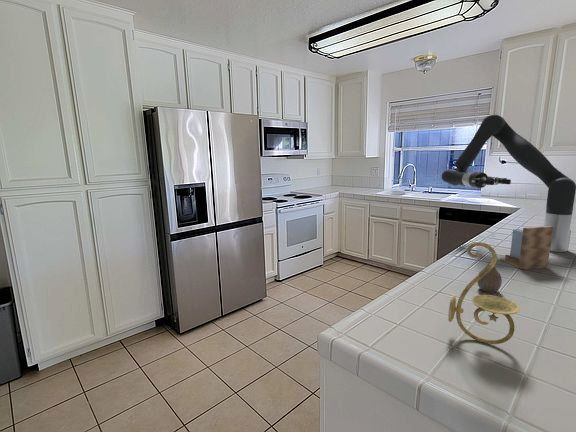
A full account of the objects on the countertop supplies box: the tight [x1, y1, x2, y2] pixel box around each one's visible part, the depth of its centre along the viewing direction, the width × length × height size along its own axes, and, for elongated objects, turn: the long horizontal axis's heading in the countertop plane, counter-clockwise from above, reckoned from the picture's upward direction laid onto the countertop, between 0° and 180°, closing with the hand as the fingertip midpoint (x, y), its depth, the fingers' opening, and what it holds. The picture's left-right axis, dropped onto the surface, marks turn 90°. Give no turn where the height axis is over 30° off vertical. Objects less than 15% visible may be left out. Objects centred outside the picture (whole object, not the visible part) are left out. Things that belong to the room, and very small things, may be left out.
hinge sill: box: [499, 225, 553, 270], centre depth 130 cm, size 12×12×17 cm
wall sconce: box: [447, 241, 520, 345], centre depth 76 cm, size 14×10×25 cm
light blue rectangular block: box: [509, 228, 523, 259], centre depth 131 cm, size 3×7×13 cm, turn 10°
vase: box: [476, 264, 503, 294], centre depth 106 cm, size 7×7×9 cm
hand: (501, 182), depth 142 cm, fingers open, 8 cm apart
